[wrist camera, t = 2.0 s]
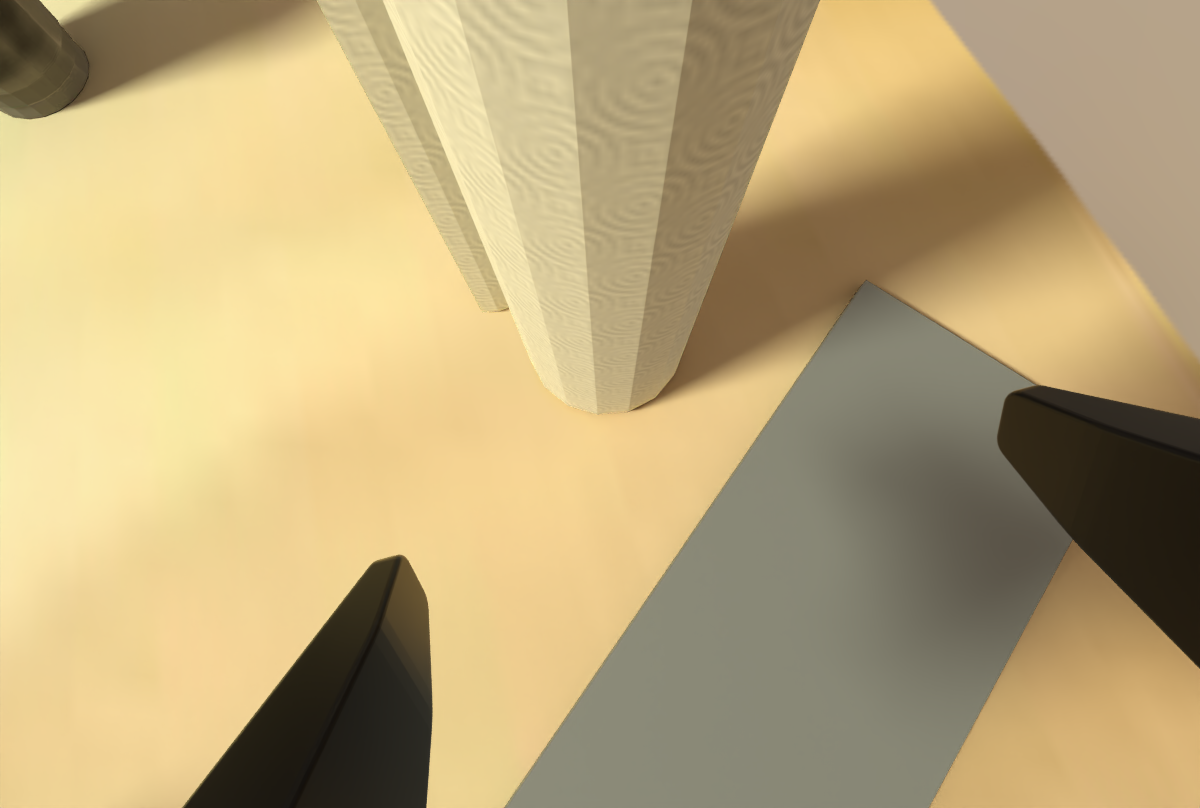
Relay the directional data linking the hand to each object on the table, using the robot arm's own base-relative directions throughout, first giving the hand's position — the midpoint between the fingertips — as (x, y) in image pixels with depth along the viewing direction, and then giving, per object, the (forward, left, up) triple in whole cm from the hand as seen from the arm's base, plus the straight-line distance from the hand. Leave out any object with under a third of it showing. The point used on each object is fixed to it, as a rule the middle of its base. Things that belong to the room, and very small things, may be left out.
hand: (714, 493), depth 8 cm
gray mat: (+1, -7, -14) cm, 15 cm away
